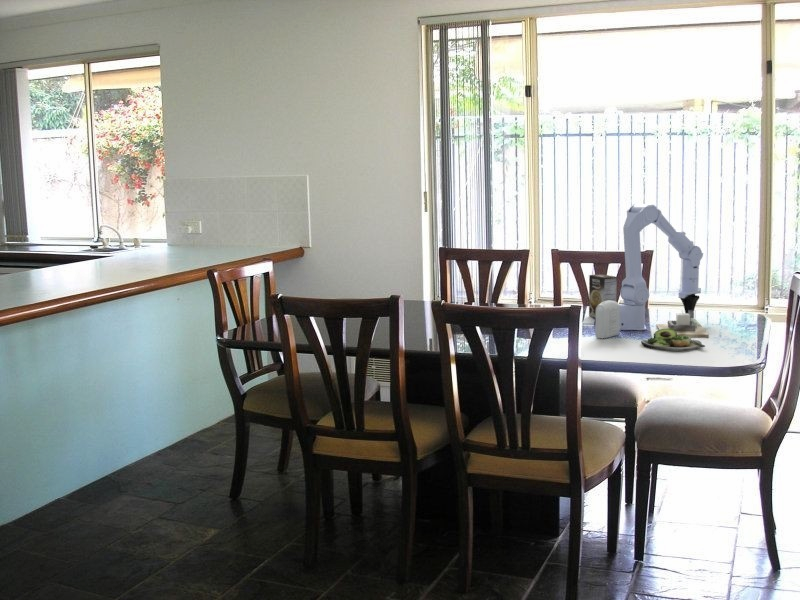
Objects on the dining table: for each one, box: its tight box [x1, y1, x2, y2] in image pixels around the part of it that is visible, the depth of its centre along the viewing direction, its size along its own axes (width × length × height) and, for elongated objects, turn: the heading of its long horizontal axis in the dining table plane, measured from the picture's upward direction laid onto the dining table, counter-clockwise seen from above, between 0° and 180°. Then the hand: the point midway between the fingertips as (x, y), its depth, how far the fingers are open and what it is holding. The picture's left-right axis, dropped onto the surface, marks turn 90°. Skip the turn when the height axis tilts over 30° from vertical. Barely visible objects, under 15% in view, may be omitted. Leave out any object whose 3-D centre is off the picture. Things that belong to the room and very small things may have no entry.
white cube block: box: [675, 312, 690, 325], centre depth 302 cm, size 4×4×5 cm
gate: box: [688, 310, 698, 328], centre depth 308 cm, size 1×14×4 cm, turn 169°
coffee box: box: [588, 273, 618, 319], centre depth 332 cm, size 9×6×16 cm
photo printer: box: [594, 300, 620, 340], centre depth 296 cm, size 10×4×12 cm, turn 134°
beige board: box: [655, 318, 710, 338], centre depth 307 cm, size 15×30×3 cm, turn 170°
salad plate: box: [641, 329, 706, 352], centre depth 279 cm, size 19×18×5 cm
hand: (689, 315), depth 317 cm, fingers closed
